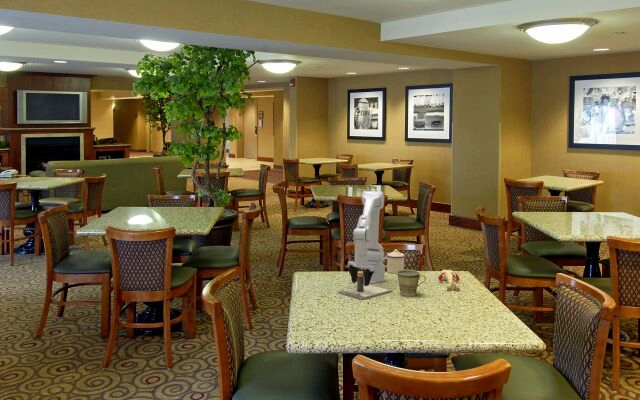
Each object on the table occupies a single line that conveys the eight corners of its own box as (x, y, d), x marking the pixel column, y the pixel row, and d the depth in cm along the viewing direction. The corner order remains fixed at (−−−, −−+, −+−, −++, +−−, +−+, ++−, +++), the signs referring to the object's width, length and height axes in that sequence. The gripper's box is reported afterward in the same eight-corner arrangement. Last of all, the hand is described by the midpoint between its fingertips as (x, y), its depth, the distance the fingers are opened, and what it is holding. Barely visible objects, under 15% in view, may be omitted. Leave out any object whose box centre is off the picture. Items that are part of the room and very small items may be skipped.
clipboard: (368, 285, 282) (368, 282, 282) (392, 291, 271) (392, 288, 271) (337, 293, 269) (337, 289, 269) (361, 300, 258) (362, 296, 258)
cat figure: (464, 294, 274) (456, 276, 298) (465, 276, 272) (456, 260, 296) (442, 293, 274) (435, 276, 299) (443, 275, 273) (436, 259, 297)
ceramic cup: (393, 295, 266) (394, 273, 265) (401, 290, 275) (401, 268, 273) (421, 299, 260) (422, 276, 259) (428, 293, 269) (429, 272, 267)
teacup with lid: (404, 270, 314) (405, 248, 312) (404, 274, 305) (404, 251, 303) (381, 269, 316) (381, 247, 314) (380, 273, 307) (380, 250, 305)
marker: (360, 289, 272) (360, 272, 271) (365, 291, 269) (365, 273, 268) (355, 291, 270) (355, 273, 269) (360, 292, 267) (360, 274, 266)
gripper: (343, 253, 270) (342, 282, 272) (366, 258, 260) (366, 288, 261) (354, 251, 275) (353, 279, 276) (377, 256, 264) (377, 286, 266)
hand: (360, 284), depth 269 cm, fingers open, 7 cm apart
